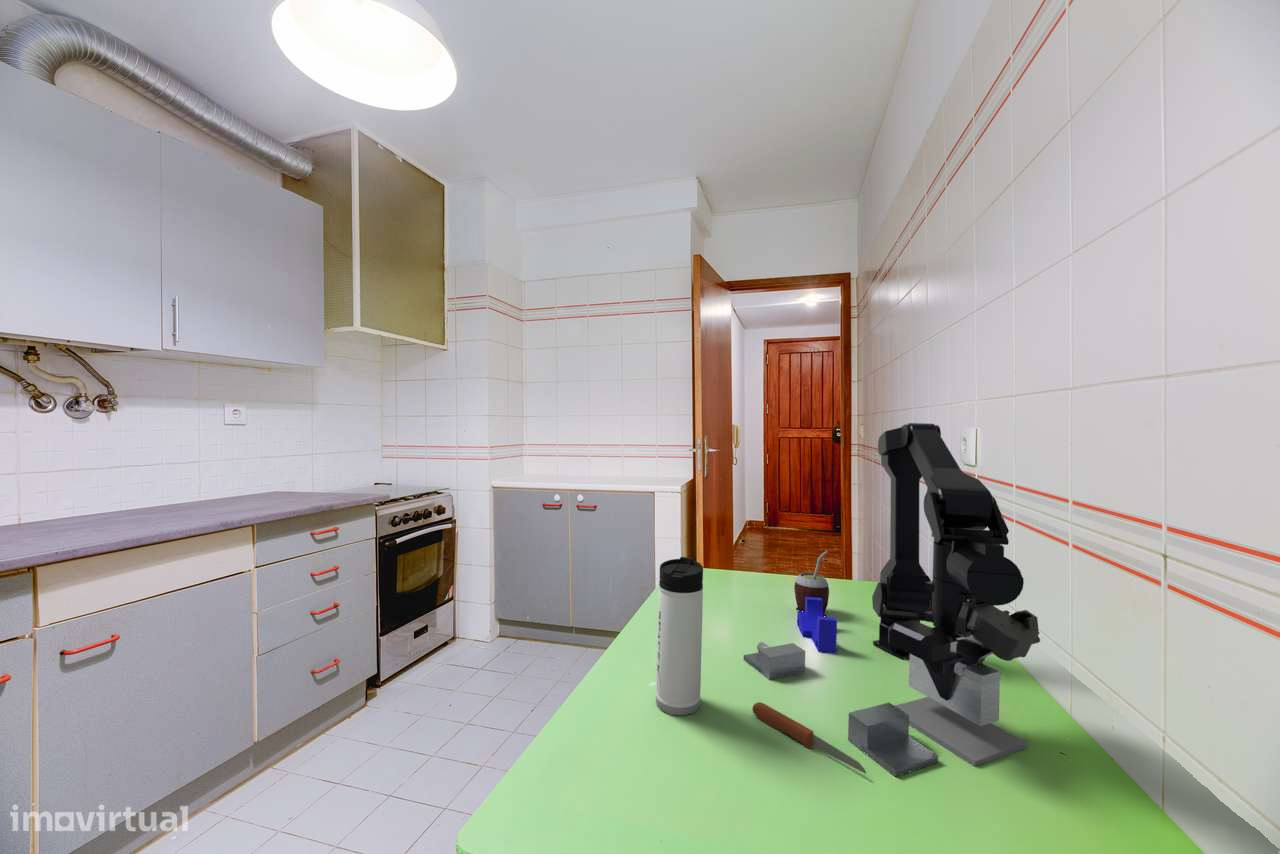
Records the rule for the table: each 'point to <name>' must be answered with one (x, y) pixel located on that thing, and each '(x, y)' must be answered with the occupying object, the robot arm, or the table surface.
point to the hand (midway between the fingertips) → (954, 696)
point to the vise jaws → (856, 716)
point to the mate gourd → (811, 587)
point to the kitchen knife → (801, 733)
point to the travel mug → (679, 636)
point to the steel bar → (963, 690)
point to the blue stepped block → (818, 625)
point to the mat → (960, 732)
